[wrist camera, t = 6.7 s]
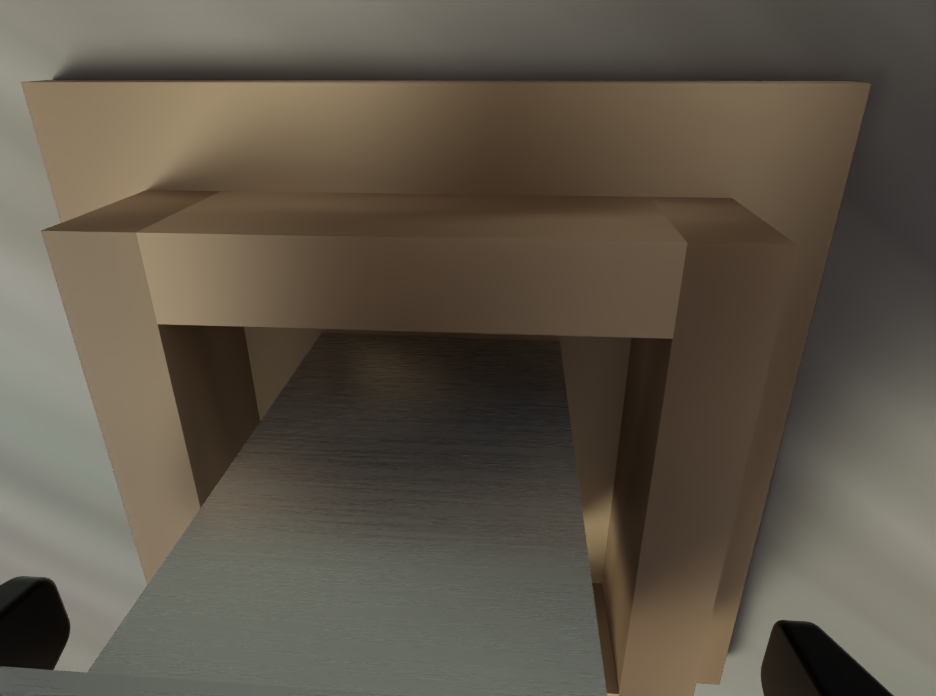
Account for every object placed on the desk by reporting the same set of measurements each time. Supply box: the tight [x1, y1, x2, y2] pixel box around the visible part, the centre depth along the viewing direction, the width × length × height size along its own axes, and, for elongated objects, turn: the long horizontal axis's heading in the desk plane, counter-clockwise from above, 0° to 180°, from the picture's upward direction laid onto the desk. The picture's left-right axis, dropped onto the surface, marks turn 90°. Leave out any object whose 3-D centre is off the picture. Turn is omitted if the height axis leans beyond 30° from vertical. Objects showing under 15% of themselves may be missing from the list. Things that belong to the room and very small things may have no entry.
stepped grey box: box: [0, 333, 607, 696], centre depth 8 cm, size 4×6×8 cm
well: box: [21, 80, 871, 696], centre depth 11 cm, size 12×12×3 cm
